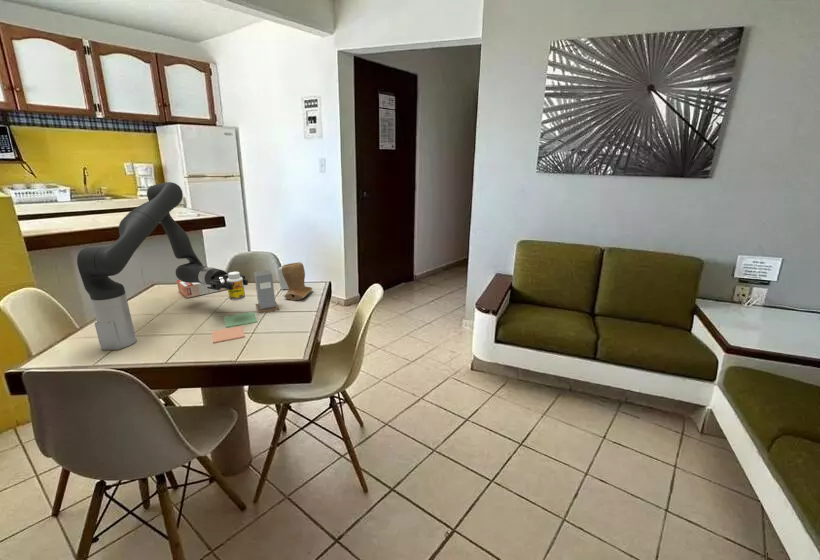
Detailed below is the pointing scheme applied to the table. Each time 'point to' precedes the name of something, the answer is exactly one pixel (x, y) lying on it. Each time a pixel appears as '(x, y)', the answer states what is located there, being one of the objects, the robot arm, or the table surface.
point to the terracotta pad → (228, 334)
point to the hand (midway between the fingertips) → (239, 284)
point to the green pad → (240, 319)
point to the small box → (282, 280)
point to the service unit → (265, 292)
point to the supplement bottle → (236, 286)
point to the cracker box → (194, 289)
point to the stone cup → (295, 281)
